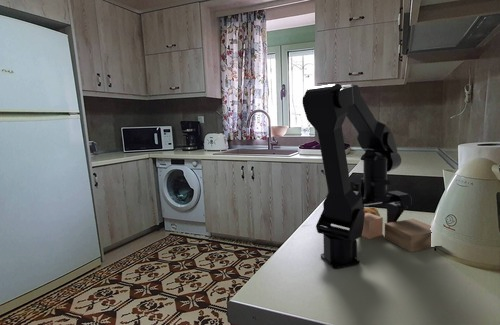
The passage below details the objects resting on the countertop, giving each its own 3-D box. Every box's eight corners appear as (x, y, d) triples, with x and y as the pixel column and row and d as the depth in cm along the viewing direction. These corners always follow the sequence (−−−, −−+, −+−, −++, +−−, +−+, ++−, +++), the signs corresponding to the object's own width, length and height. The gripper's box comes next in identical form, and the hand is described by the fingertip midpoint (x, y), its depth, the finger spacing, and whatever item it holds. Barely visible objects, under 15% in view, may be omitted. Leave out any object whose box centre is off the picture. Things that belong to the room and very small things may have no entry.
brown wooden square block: (410, 252, 69) (411, 235, 69) (384, 237, 78) (384, 223, 77) (441, 246, 71) (442, 230, 71) (413, 232, 80) (413, 218, 79)
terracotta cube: (369, 239, 78) (369, 221, 77) (354, 233, 82) (354, 216, 81) (382, 235, 80) (382, 217, 79) (367, 229, 84) (367, 212, 84)
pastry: (356, 226, 87) (356, 214, 87) (343, 219, 94) (343, 208, 93) (383, 222, 90) (383, 210, 89) (368, 215, 96) (368, 204, 96)
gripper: (384, 167, 87) (384, 218, 89) (327, 174, 83) (328, 226, 85) (414, 174, 76) (412, 231, 78) (350, 181, 72) (350, 241, 74)
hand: (374, 232), depth 79 cm, fingers open, 9 cm apart
